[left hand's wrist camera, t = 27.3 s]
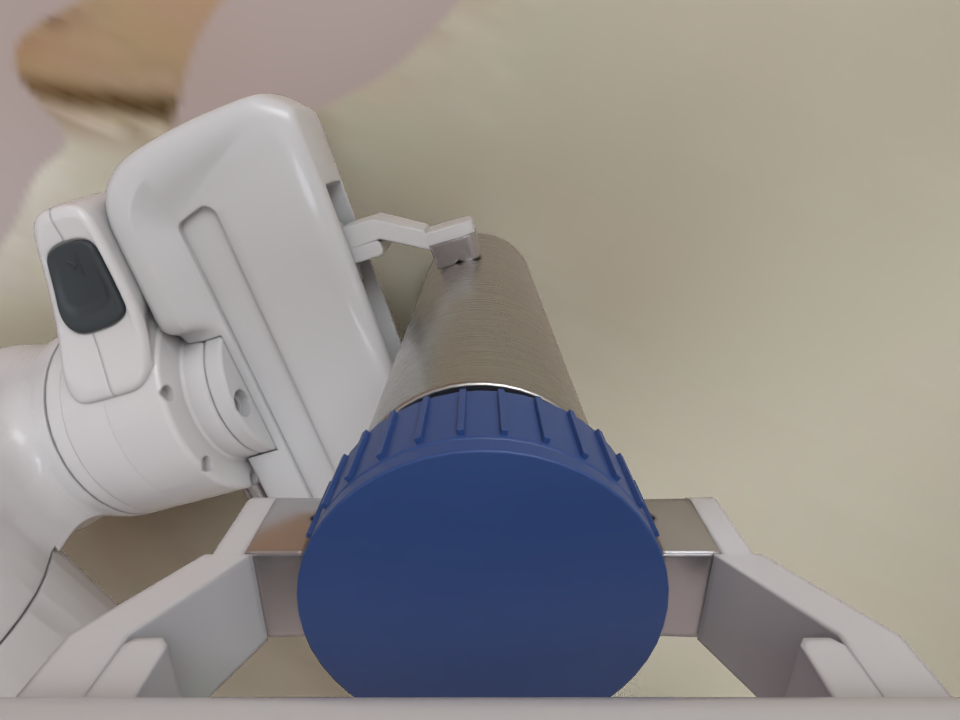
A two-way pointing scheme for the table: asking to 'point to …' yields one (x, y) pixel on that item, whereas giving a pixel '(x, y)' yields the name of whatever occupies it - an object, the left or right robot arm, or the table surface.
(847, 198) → the table surface
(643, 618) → the lid
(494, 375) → the jar
